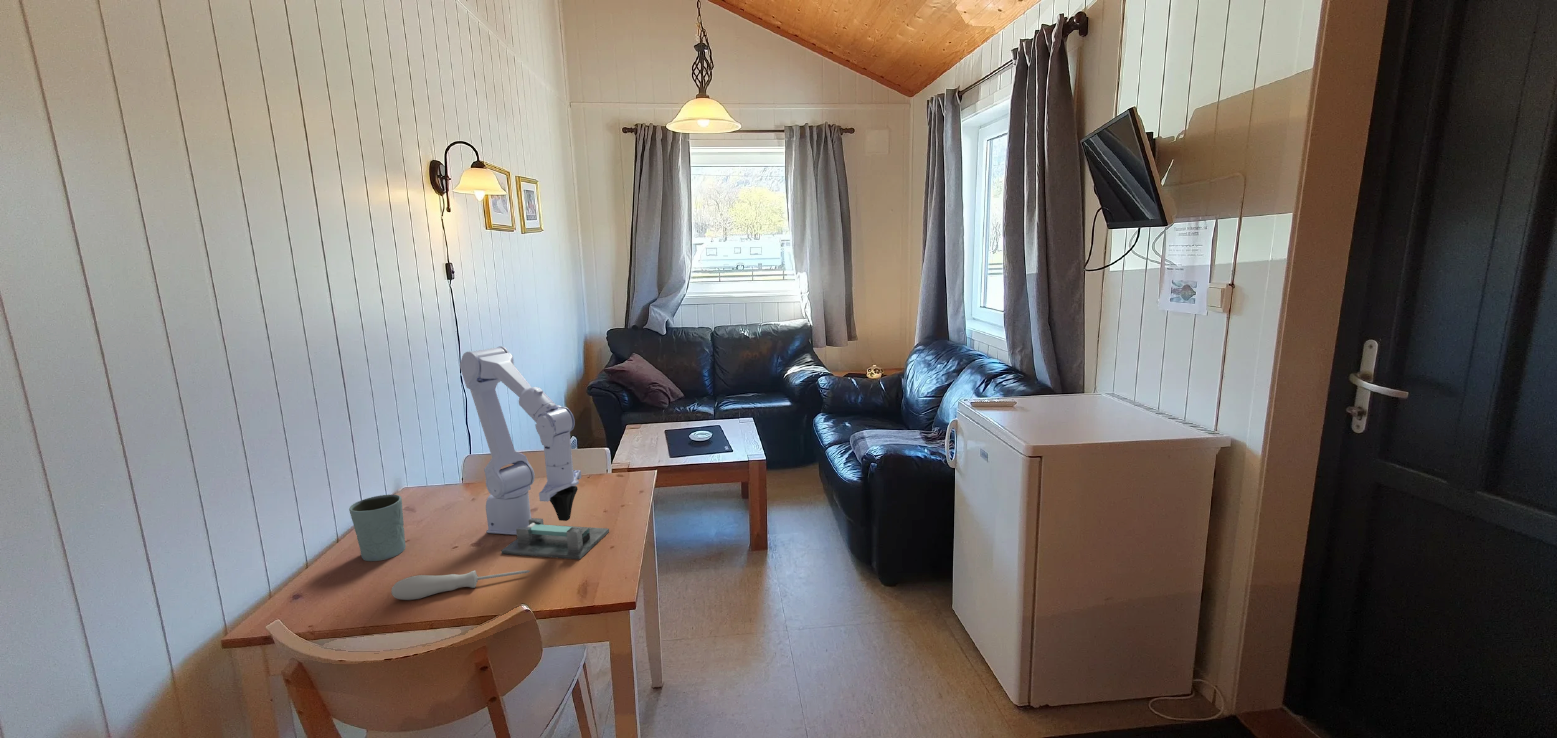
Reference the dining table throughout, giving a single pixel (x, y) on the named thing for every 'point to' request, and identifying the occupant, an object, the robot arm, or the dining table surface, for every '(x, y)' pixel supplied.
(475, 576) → the screwdriver
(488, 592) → the dining table surface
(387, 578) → the dining table surface
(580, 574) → the dining table surface
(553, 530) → the teal rectangular bar
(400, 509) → the green cup
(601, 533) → the plate
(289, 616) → the dining table surface
